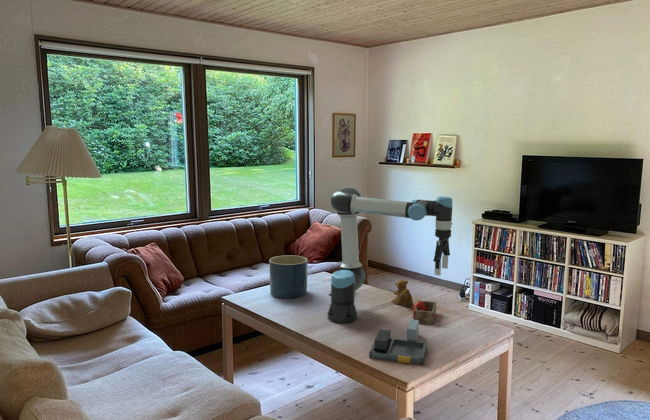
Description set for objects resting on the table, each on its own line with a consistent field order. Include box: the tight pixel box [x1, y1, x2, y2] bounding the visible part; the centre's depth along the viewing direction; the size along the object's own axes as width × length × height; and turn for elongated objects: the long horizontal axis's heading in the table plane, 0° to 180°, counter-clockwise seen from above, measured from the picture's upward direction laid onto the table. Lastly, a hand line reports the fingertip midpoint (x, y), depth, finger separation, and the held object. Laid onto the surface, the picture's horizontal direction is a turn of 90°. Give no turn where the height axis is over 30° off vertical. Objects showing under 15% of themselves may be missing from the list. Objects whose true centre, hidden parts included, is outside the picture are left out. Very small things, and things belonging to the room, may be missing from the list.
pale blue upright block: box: [406, 319, 420, 341], centre depth 223 cm, size 4×12×7 cm, turn 164°
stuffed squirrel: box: [391, 279, 414, 307], centre depth 269 cm, size 10×14×13 cm
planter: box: [268, 254, 309, 300], centre depth 286 cm, size 22×22×20 cm
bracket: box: [412, 302, 437, 319], centre depth 250 cm, size 12×4×8 cm, turn 120°
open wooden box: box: [413, 299, 437, 325], centre depth 250 cm, size 9×16×6 cm, turn 164°
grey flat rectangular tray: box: [368, 328, 428, 366], centre depth 208 cm, size 22×18×7 cm
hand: (441, 271), depth 241 cm, fingers open, 13 cm apart
